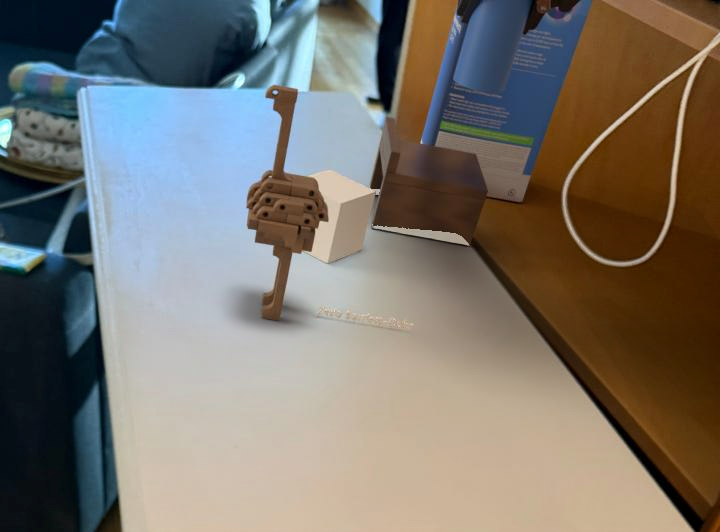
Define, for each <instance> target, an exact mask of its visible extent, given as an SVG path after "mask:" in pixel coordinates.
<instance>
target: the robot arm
mask: <svg viewBox="0 0 720 532" xmlns="http://www.w3.org/2000/svg"><path fill="white" fill-rule="evenodd" d="M580 1H581V0H533V3H532V6H531V9H530V12H529V15H528V18H527V21H526V24H525V28H524V31H523V35H526V34H527V33H528V31H529V30H534V29H535V28H537V26H538V25H539V23H540V21H541V20H542V18H543V16H544V15H545V13H547V12H549V10H550V8H555V7H558V10H559V11H560V12H569V11H570V10H571V9H572V8H573V7H574V6H575V5H576V4H577V3H578V2H580ZM478 2H479V0H457V4H458V6H457V5H456V8H457V16H461V19H460V22H461V23H466V24H468V22H469V20H470V18H471V15H472V14H473V12H474V10H475V8H476V6H477V4H478Z"/></svg>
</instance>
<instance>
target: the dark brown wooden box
mask: <svg viewBox="0 0 720 532" xmlns="http://www.w3.org/2000/svg"><path fill="white" fill-rule="evenodd" d="M383 123H384V124H383V128H382V132H381V136H380V140H379V145H378V149H377V152H376V156H375V161H374V164H373V169H372V172H371V173H372V174H371V177H370V182H369V185H370V188H371V189H380V192H379V196H377V200H376V205H375V208H374V212H373V216H372V221H371V224H373V226H377V225H378V226H383V227H385V226H387V227H398V228H402V227H403V228H406V229H408V228H409V229H420V230H432V231H442V232H450V233H456V234H458V235H460V236H462V237H463V238H464V239H465V240H466V241H467V242H468V243H469V244H470V245H471V243H472V241H473V238H474V235H475V231H476V228H477V226H478V222H479V219H480V216H481V213H482V210H483V208H484V205H485V201H486V199H487V197H486V196H487V193H488V189H487V186H486V183H485V180H484V177H483V174H482V171H481V168H480V165H479V161H478V158H477V155H476V154H474V153H468V152H463V151H458V150H453V149H447V148H442V147H437V146H431V145H426V144H421V142H416V141H410V140H404V139H400V138H399V136H398V130H397V123H396V119H395V118H394V117H389V116H386V117H385V120H384V122H383Z"/></svg>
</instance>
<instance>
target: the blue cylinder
mask: <svg viewBox="0 0 720 532" xmlns="http://www.w3.org/2000/svg"><path fill="white" fill-rule="evenodd" d="M532 3H533V0H479V2H478V4H477V6H476V8H475V10H474V12H473V14H472V15H471V18H470V21H469V24H468V28H467V31H466V35H465V38H464V42H463V45H462V49H461V52H460V56H459V59H458V63H457V66H456V70H455V74H454V77H453V79H454V81H455V82H456V83H458V84H459V85H461V86H463V87H466V88H468V89H471V90H475V91H479V92H484V93H502V92H503V91H504V90H505V87H506V84H507V80H508V77H509V74H510V71H511V68H512V65H513V62H514V59H515V56H516V52H517V49H518V46H519V43H520V40H521V37H522V34H523V31H524V28H525V24H526V21H527V18H528V15H529V12H530V9H531V6H532Z"/></svg>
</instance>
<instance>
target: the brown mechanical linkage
mask: <svg viewBox="0 0 720 532" xmlns="http://www.w3.org/2000/svg"><path fill="white" fill-rule="evenodd" d="M275 91H276V92H277V93H274V92H275ZM264 95H265V96H264V97H265V98H266V99H270V100H273V103H272V111H274V112H276V113H277V114H278V115H279V116H280V118H281V119H280V125H279V132H278V136H277V137H278V138H277V143H276V148H275V154H274V160H273V165H272V169H269V170H266V171H265V172H264V173H263V174H262V176H261V179H260V180H258V181H257V182H253V183H252V184H251V185H250V187H249V188H248V191H247V196H246V206H245V208H246V209H247V210H248V213H247V218H246V219H247V220H246V228H247V229H248V230H253V231H255V236H254V243H256V244H261V245H266V246H273V248H272V256H274V257H276V258H277V259H278V263H277V267H276V273H275V278H274V284H273V287H272V290H270V291H268V292H263V294H262V300H261V305H262V309H261V319H265V320H271V321H272V320H273V321H280V320H281V314H282V309H283V305H284V298H285V294H286V289H287V284H288V278H289V273H290V268H291V264H292V263H291V262H292V257H293V254H298V255H301V254H302V252H304V251H308V252H312V247H313V243H314V238H315V228H317V229H318V227H319V222H320V221H324V222H329V219H328V207H327V204H326V203H325V202H324V198H323V196H322V195H321V192H320V191H319V185H318V182H317V180H316V179H315V178H312V177H307V176H308V175H301V174H294V173H289V172H285V164H286V158H287V152H288V147H289V143H290V136H291V130H292V125H293V119H294V113H295V109H296V103H297V101H298V95H299V89H298V88H296V87H295V88H294V87H288V86H284V85H278V84H272V85H270V86H269V87H268V88H267V89H266V91H265V94H264ZM302 250H303V251H302ZM318 308H320V309H319V310H318V311H317V312H316V315H321V316H323V315H324V316H326V317H328V316H329V317H331V318H335V316H336V318H337V319H342V313H343V312H342V311H339V310H338V311H337V307H335V308H334V309H331V310H329V309H328V308H326V309H325V306H322V305H318ZM323 310H324V311H323ZM336 312H337V314H336ZM332 313H333V314H332ZM369 316H370V313H367V315H366V314H359V315H358V314H356V313H352V311H351V310H347V311H346V315H345V320H352V321H355V322H360V320H361V319H360V318H362V322H363V323H370V324H375V325H380V326H382V323H383V324H388V325H387V326H388V327H390V328H394V327H395V326H396V329H403V330H404V329H406V330H409V331H410V330H411V329H412V327H413V326H415V323H410V324H409V323H408V322H407V319H404V322H403V321H401V322H400V321H398V320H396V318H393V317H390V318H389V322H388V321H387V320H384V319H383V318H382V316H381V317H379V316H376V317H374V316H370V317H369ZM365 318H366V319H365ZM392 321H394V323H393V324H391V323H392ZM381 322H382V323H381ZM399 324H400V325H399ZM405 327H406V328H405Z"/></svg>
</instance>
